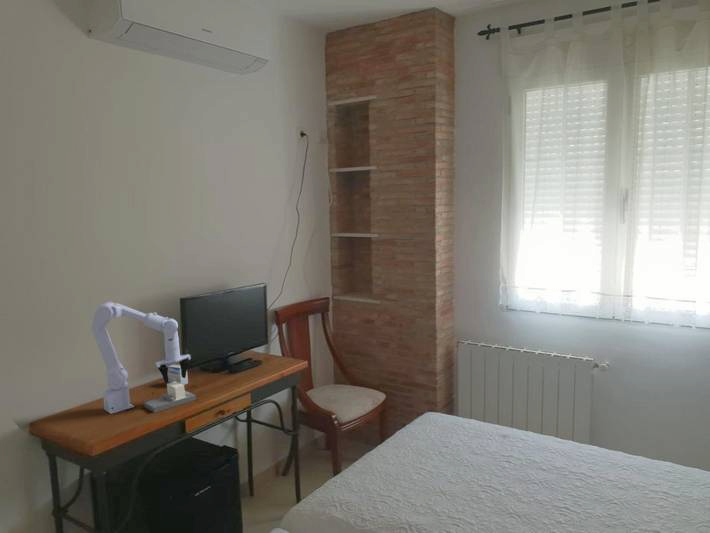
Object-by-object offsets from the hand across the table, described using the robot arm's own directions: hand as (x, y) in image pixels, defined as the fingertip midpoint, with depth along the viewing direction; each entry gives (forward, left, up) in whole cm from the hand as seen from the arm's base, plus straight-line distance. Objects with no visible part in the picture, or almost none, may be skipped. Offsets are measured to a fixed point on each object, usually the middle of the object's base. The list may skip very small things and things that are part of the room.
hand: (175, 379), depth 226 cm
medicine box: (+11, +21, -10) cm, 26 cm away
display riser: (-3, 0, -9) cm, 10 cm away
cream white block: (0, 0, -7) cm, 7 cm away
